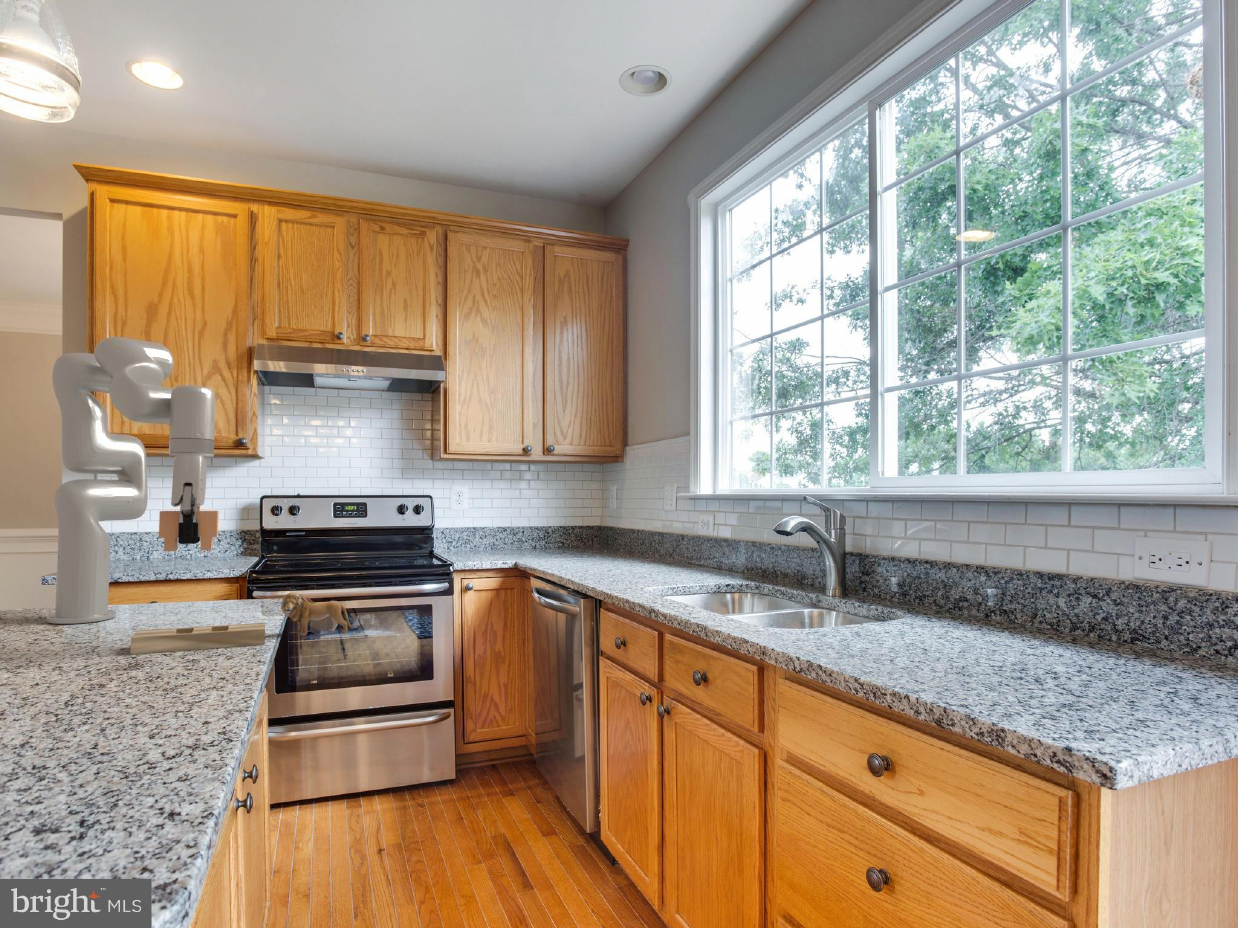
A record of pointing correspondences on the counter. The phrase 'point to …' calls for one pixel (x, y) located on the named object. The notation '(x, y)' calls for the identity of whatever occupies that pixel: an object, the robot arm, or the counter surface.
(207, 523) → the clip
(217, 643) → the rail
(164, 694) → the counter surface
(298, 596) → the lion figurine
